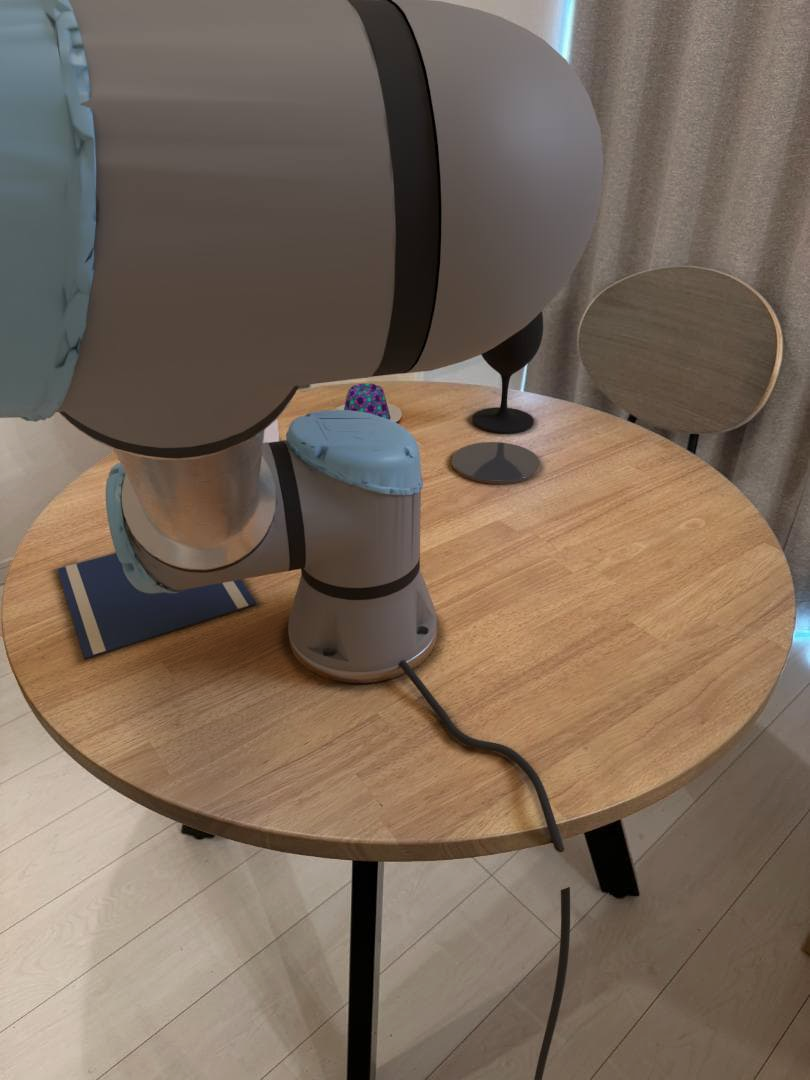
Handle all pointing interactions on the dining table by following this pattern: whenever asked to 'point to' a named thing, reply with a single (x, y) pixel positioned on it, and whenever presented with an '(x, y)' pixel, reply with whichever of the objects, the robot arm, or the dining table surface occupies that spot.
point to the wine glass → (506, 363)
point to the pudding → (370, 402)
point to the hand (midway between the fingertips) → (194, 435)
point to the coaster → (496, 463)
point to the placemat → (137, 605)
